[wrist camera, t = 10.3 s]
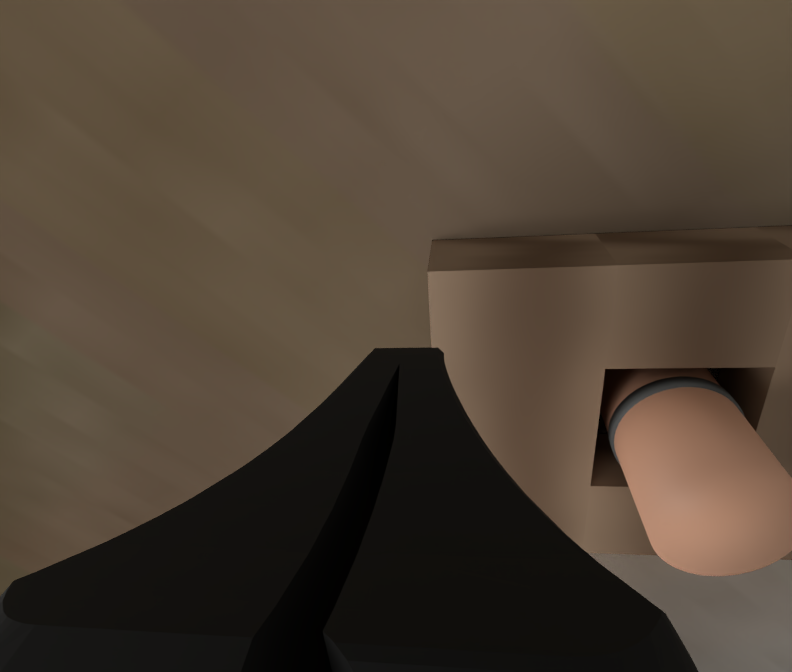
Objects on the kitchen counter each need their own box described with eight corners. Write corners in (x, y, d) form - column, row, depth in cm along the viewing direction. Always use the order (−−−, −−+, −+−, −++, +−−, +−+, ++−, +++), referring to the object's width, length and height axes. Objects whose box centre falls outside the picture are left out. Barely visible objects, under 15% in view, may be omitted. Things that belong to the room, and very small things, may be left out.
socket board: (443, 493, 24) (441, 547, 22) (431, 240, 19) (427, 271, 16) (828, 501, 22) (877, 562, 19) (946, 219, 16) (1037, 251, 14)
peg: (585, 425, 22) (634, 574, 16) (597, 336, 20) (658, 465, 14) (693, 427, 21) (788, 581, 15) (716, 335, 19) (837, 470, 13)
